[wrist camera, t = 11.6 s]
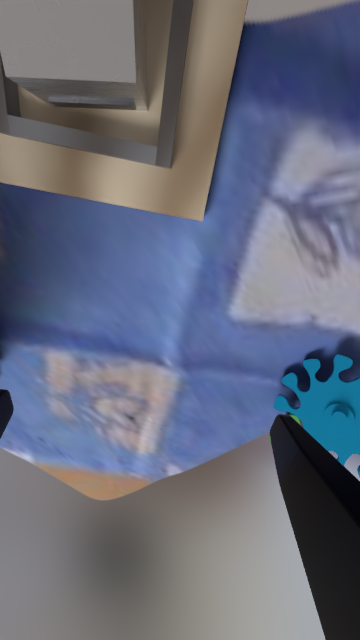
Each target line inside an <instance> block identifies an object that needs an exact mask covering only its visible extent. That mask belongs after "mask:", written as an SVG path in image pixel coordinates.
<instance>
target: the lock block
mask: <svg viewBox="0 0 360 640" xmlns="http://www.w3.org/2000/svg"><path fill="white" fill-rule="evenodd" d="M0 53H1V57H2V62H3V66H4V71H5V75H6V77H7V78H9V79H10V80H12V81H13V82H15V83H17V84H18V85H20V86H21V87H23V88H24V89H26V90H27V91H29V92H31V93H32V94H34V95H35V96H37V97H38V98H40V99H41V100H43V101H44V102H46V103H48V104H49V105H51V106H52V107H62V108H85V109H107V110H129V111H148V96H147V50H146V4H145V0H0Z"/></svg>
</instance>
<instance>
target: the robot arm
mask: <svg viewBox="0 0 360 640" xmlns="http://www.w3.org/2000/svg"><path fill="white" fill-rule="evenodd" d="M12 414H13V404H12V400H11V396H10V393H9V391H8V390H3V389H0V438H1V436H2V434H3V432H4V430H5V428H6V426H7V424H8V422H9V420H10V418H11V416H12ZM270 439H271V444H272V449H273V454H274V459H275V465H276V470H277V475H278V479H279V483H280V487H281V491H282V494H283V498H284V501H285V504H286V508H287V511H288V514H289V518H290V521H291V524H292V528H293V531H294V535H295V538H296V541H297V545H298V548H299V551H300V555H301V558H302V562H303V565H304V568H305V572H306V575H307V578H308V582H309V585H310V588H311V592H312V595H313V598H314V601H315V605H316V609H317V612H318V615H319V618H320V622H321V625H322V629H323V632H324V635H325V639H326V640H360V481H359V480H358V479H356V477H355V476H353V475H352V474H351V473H350V472H349V471H348V470H347V469H346V468H345V467H344V466H343V465H342V464H341V463H340V462H339V461H338V460H337V459H335V458H334V457H333V456H332V455H331V454H330V453H329V452H328V451H327V450H326V449H325V448H324V447H323V446H322V445H321V444H320V443H319V442H318V441H317V440H316V439H315V438H313V437H312V436H311V435H310V434H309V433H308V432H307V431H306V430H305V429H304V428H303V427H302V426H301V425H300V424H299V423H298V422H297V421H296V420H295V419H293V418H292V417H291V416H289V415H281V414H279V415H277V416H276V418H275V420H274V423H273V425H272V427H271V429H270Z"/></svg>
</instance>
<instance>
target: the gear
mask: <svg viewBox="0 0 360 640" xmlns="http://www.w3.org/2000/svg"><path fill="white" fill-rule="evenodd" d="M333 363H334V369H333V372H332V374H331V376H330V377H329V378H328V379H327V380H326V381H324V382H321V381H318V380H317V379H316V378H315V373H316V372H317V371H318V369H319V368H320V361H319V360H318V359H308V360H304V362H303V365H304V367H305V369H306V370H307V371H308V373H309V376H310V382H311V383H310V389H309V390H308V391H302V390H300V389H299V388H298V377H297V375H296V374H295V373H293V372H292V373H289V374H287V375H286V376H284V377H283V378H282V382H283V384H284V385H285V386H287V387H289V388H291V389H292V390H293V391H294V392H295V393H296V394H297V396H298V398H299V400H300V402H301V406H300V407H298V408H294V407H292V406H291V405H290V404H289V401H288V399H287V398H286V397H285V396H284V395H278V397H277V398H276V399H275V402H274V406H273V407H274V408H275V409H276V410H279V411H287V412H290V414H288V415H289V416H291V417H292V418H293V419H295V420H296V421H297V422H298V423H299V424H300V425H301V426H302V427H303V428H304V429H305V430H306V431H307V432H308V433H309V434H310V435H311V436H312V437H313V438H315V439H316V440H317V441H318V442H319V443H320V444H321V445H322V446H323V447H324V448H325V449H326V450H327V451H329V450H330V451H334V452H336V453H337V454H338V458H337V460H338V461H339V462H340V463H341V464H342V465H343V466H344V464H345V461H346V460H347V459H348V458H349V457H350V456H351V455H352V454H359V455H360V377H358V378H357V379H355V380H352V381H349V382H343V381H341V380H340V379H339V377H338V375H339V373H340V372H341V371H342V370H345V369H348V368H350V367H351V366H352V364H353V360H351V359H350V358H348V357H345V356H342V355H338V354H337V355H336V356H335V357H334V359H333ZM269 439H270V437H269ZM270 442H271V439H270ZM358 474H359V477H360V465H359V467H358Z"/></svg>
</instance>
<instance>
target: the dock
mask: <svg viewBox="0 0 360 640" xmlns="http://www.w3.org/2000/svg"><path fill="white" fill-rule="evenodd" d="M145 4H146V50H147V96H148V111H129V110H107V109H85V108H62V107H52V106H51V105H49V104H48V103H46V102H44V101H43V100H41V99H40V98H38V97H37V96H35V95H34V94H32V93H31V92H29V91H27V90H26V89H24V88H23V87H21V86H20V85H18V84H17V83H15V82H13V81H12V80H10V79H9V78H7V77H6V75H5V71H4V66H3V62H2V57H1V53H0V183H6V184H11V185H16V186H21V187H26V188H32V189H37V190H42V191H47V192H52V193H58V194H63V195H68V196H73V197H78V198H84V199H89V200H94V201H99V202H104V203H109V204H115V205H120V206H125V207H130V208H135V209H141V210H146V211H151V212H156V213H161V214H167V215H172V216H177V217H182V218H187V219H193V220H198V221H203V216H204V212H205V207H206V202H207V197H208V192H209V187H210V183H211V178H212V173H213V168H214V163H215V159H216V154H217V149H218V144H219V139H220V134H221V130H222V125H223V120H224V115H225V110H226V105H227V101H228V96H229V91H230V86H231V81H232V76H233V72H234V67H235V62H236V57H237V52H238V47H239V43H240V38H241V33H242V28H243V23H244V18H245V14H246V8H247V4H248V0H145Z"/></svg>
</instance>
